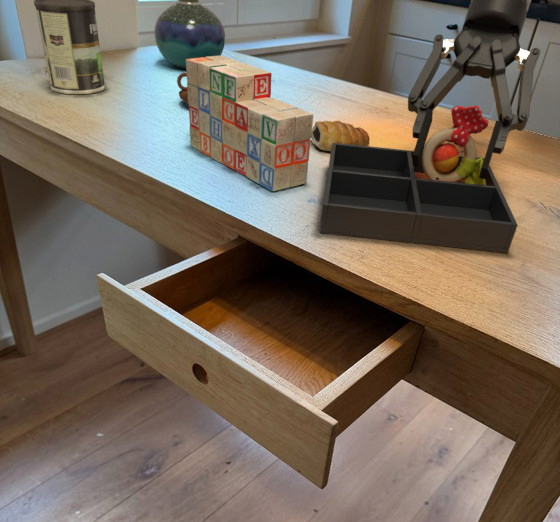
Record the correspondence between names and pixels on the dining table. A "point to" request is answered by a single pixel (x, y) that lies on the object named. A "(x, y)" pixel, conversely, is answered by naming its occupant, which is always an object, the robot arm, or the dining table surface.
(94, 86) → the coffee can
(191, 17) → the vase
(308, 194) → the dining table surface
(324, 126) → the pastry
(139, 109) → the dining table surface
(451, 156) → the bird rattle
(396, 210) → the grid
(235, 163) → the stack of blocks
